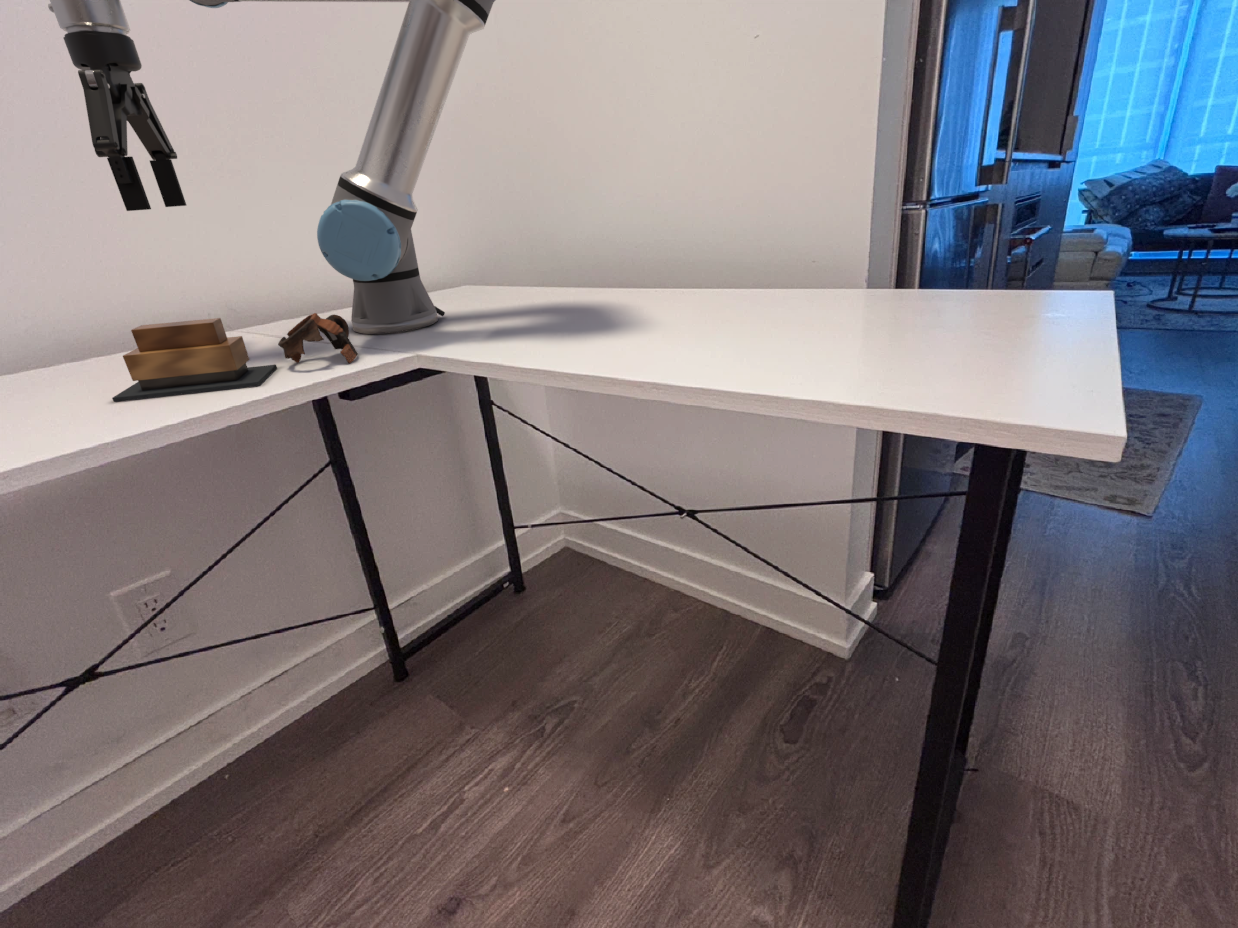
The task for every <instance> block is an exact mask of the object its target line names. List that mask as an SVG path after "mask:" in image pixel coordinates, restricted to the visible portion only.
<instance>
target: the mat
mask: <svg viewBox="0 0 1238 928" xmlns="http://www.w3.org/2000/svg"><path fill="white" fill-rule="evenodd" d="M247 368H248V371H247V372H246V373H245V374H244V375H243V376H241V377H240V378H239V379H238V380H236V381H227V382H218V383H208V384H199V385H190V386H181V387H171V388H162V389H153V390H144V391H142V389H141V387H140V384H139V382H138V381H136V382H135V383H133V384H132V385H131V386H129V387H128V388H126V389H124V390H123V391H121V392H119V393H118V394H116V395H114V396H113V397H112V398H111V399H112V401H113V402H114V403H118V402H126V401H136V400H147V399H153V398H154V399H155V398H163V397H172V396H181V395H191V394H198V393H200V394H201V393H207V392H217V391H225V390H226V391H227V390H236V389H244V388H245V389H246V388H254V387H260V386H261V385H262V384H263V383H264V382H265V381H266V380H267V379H268V378H269V377H270V376H271V375H272V374H273V373H274V372H275V371H276V370H277V369H278V366H277V364H267V365H257V366H247Z"/></svg>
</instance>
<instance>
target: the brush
mask: <svg viewBox="0 0 1238 928" xmlns="http://www.w3.org/2000/svg"><path fill="white" fill-rule="evenodd" d="M130 332H131V334H132V336H133V339H134V341H135V344H136V347H137V348H135V349H133V350H131V351H129V352H127V353H125V354H123V355H122V358H123V361H124V363H125V366H126V368H127V370H128V373H129V375H130V378H131V380H132V382H139V384H140V387H141V389H142V391H144V390H153V389H162V388H171V387H181V386H190V385H199V384H208V383H218V382H227V381H236V380H238V379H239V378H240V377H241V376H243V375H244V374H245V373H246V372H247V371H248V368H247V367H248V365H247V362H249V361H250V357H249V354H248V351H247V347H246V344H245V341H244V338H243V335H239V336H238V335H237V336H229V337H228V336H227V333H226V330H225V327H224V324H223V320H222V319H221V317H217V318H216V317H215V318H205V319H204V318H203V319H193V320H186V321H185V320H184V321H183V320H182V321H173V322H172V321H171V322H162V323H161V322H160V323H151V324H141V325H139V326H137V327H134V328H132V329H131V330H130Z"/></svg>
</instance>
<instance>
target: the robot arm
mask: <svg viewBox="0 0 1238 928" xmlns="http://www.w3.org/2000/svg"><path fill="white" fill-rule="evenodd" d="M188 1H190V2H191V3H193V4H195V5H197V6H200V7H205V8H208V9H219V8H223V7H224V6H226V5H227V4H228V3H241V2H244V3H245V2H246V3H248V2H250V3H252V2H253V3H255V2H256V3H257V2H259V3H273V2H274V3H408V5H407V7H406V9H405V14H404V16H403V20H402V23H401V25H400V29H399V31H398V35H397V38H396V40H395V44H394V47H393V50H392V53H391V56H390V59H389V62H388V65H387V69H386V72H385V75H384V77H383V81H382V84H381V87H380V90H379V93H378V95H377V99H376V102H375V105H374V108H373V112H372V114H371V117H370V120H369V123H368V127H367V130H366V132H365V135H364V139H363V142H362V145H361V148H360V151H359V154H358V158H357V160H356V163H355V166H354V167H353V168H352V169H349V170H346V171H342V172H341V173H340V175H339V179H338V181H337V184H336V187H335V191H334V193H333V197H332V200H331V203H330V205H328V207H326V209H325V210H323V214H321V216H320V217H319V221H318V224H317V228H316V229H317V230H316V238H317V244H318V248H319V249H320V253H321V254H322V256H323V258H324V259H325V261H326V262H327V263H328V264H329V265H330V266H331V268H332V269H333V270H335V271H336V272H337V273H339V274H341V275H343V276H344V277H346V278H348V279H351V280H352V282H353V283H352V284H353V295H352V296H353V297H352V306H351V318H350V321H351V325H352V329H353V331H354V332H356V333H358V334H365V335H383V334H385V335H386V334H395V333H402V332H409V331H414V330H418V329H419V330H420V329H422V328H427V327H428V326H431V325H434V324H436V323H437V322H438V321H439V317H438V315H439V316H441V317H444V316H445V314H446V311H444V310H442V309H440V308H439V307H438V306H436V305H435V304H434V303H433V301H432V298H431V296H430V295H429V293H428V291H427V289H426V288H425V286H424V283H423V282H422V279H421V275H420V270H419V264H418V258H417V254H416V248H415V243H414V238H413V232H412V227H413V224H414V222H415V219H416V216H417V213H418V210H419V209H418V207H417V205H416V203H415V200H414V197H413V194H414V190H415V188H416V185H417V182H418V180H419V176H420V174H421V171H422V168H423V165H424V164H425V163H424V162H425V160H426V157H427V154H428V151H429V149H430V146H431V143H432V140H433V138H434V135H435V133H436V132H435V131H436V129H437V126H438V124H439V121H440V118H441V115H442V113H443V110H444V108H445V105H446V102H447V99H448V95H449V93H450V90H451V87H452V85H453V82H454V80H455V76H456V74H457V71H458V68H459V65H460V62H461V59H462V57H463V54H464V51H465V48H466V46H467V43H468V40H469V37H470V35H472V34H474V33H476V32H479V31H482V30H484V29H485V27H486V23H487V21H488V19H489V15H490V13H491V11H492V8H493V5H494V3H495V2H496V0H188ZM49 2H50V3H48V5H47V7H48V10H49V11H50V12H51V13H53V14H54V15H55V18H56V21H57V24H58V26H59V28H60V30H63V31H64V32H67V33H65V34H64V36H63V41H64V43H65V47H66V49H67V51H68V54H69V57H70V60H71V62H72V65H73V66H74V67H75V68H76V69H78V70H77V75H78V76H79V80H80V83H81V87H82V89H83V95H84V101H85V106H86V107H85V108H86V113H87V119H88V125H89V132H90V137H91V143H92V147H93V149H94V152H95V154H96V156H97V158H106V159H107V162H108V165H109V167H110V170H111V172H112V173H111V174H112V175H113V178H114V180H115V183H116V186H117V189H118V191H119V193H120V197H121V200H122V202H123V205H124V208H125V211H126V212H131V211H134V212H135V211H148V210H152V207H151V204H150V202H149V199H148V196H147V194H146V193H147V192H146V190H145V188H144V185H143V182H142V178H141V177H140V174H139V171H138V168H137V165H136V162H135V160H134V157H133V156H128V154H129V152H128V124H129V125H130V127H131V129H132V130H133V132H134V133H135V134H136V136H137V138H138V140H139V141H140V142H141V144H142V146H143V147H144V149H145V150H146V152H147V153H148V155H149V156H150V158H151V159H152V160H149V164H150V167H151V169H152V172H153V175H154V178H155V180H156V184H157V186H158V190H159V192H160V196H161V197H162V201H163V204H164V206H165V208H173V207H185V206H187V202H186V200H185V197H184V193H183V190H182V188H181V185H180V182H179V179H178V175H177V172H176V170H175V167H174V166H175V165H174V164H173V160H177V159H178V154H177V152H176V151H175V148H174V147H173V145H172V143H171V141H170V139H169V137H168V135H167V133H166V131H165V129H164V127H163V125H162V123H161V121H160V119H159V116H158V114H157V113H156V111H155V108H154V106H153V105H152V102H151V101H150V98H149V95H148V92H147V90H146V87H145V85H144V83H143V82H134V81H133V78H132V77H131V72H132V73H133V72H138V71H140V70H141V69H142V67H143V65H142V62H141V58H140V56H139V53H138V50H137V47H136V44H135V41H134V39H132V38H131V37H130V36H128V34H129V33H130V32H131V28H130V25H129V22H128V19H127V16H126V13H125V10H124V7H123V4H122V1H121V0H49Z"/></svg>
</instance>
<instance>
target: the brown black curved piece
mask: <svg viewBox="0 0 1238 928" xmlns="http://www.w3.org/2000/svg"><path fill="white" fill-rule="evenodd" d="M321 333H322V334H323V335H324V336H325V337H326V339H327V340H328V341H329V342H330V344H331V345H332V347H333V349H334V350H340V354H341V355H342V356H343V357H344V358H345V361H346V362H347V364H352V363H353V362H354V361H355V360H356V358H357V357H358V355H359V353H358V351H357V350H356V348H355V346H354V345H353V343H352V342H351V340H350V338H349V336H350V328H349V324H348V322H347V321H346V320H345V319H344V317H342V316H340V315H339V314H330V315H328V316H327V317H325V318H322V317H320V315H318V313H317V312H314V313H311V314H309V315H307V316H306V317H305V318H303V319H302V320H301V321H300V322H298V323H297V324H296V325H295V326H293V327H292V328H291V329H290V330H288V332H287V334H286V335H287V336H288V337H285V336H283V337H282V338H280V340H279V341H278V343H277V346H278V347H280V348H281V349H283V356H284V358H285V359H287V360H289V359H291V361H294V362H295V363H297V364H298V363H300V361H301V359H302V355H305V354H306V352H305V347H304V341H305V342H309V343H311V342H322V341H324V340H325V338H324V337H323V335H322V334H321Z"/></svg>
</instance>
